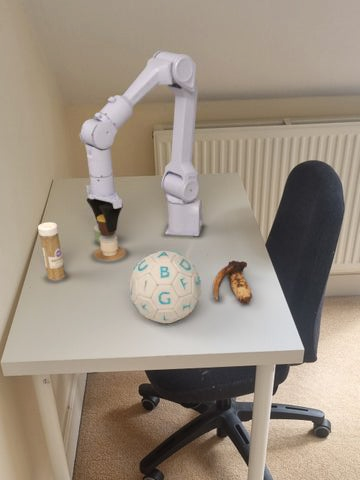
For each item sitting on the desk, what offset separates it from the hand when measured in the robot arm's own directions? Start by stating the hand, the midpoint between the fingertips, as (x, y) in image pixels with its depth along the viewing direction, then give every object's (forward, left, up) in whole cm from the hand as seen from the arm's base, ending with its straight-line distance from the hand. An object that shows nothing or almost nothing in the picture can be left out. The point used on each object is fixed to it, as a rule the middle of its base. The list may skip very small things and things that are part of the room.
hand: (107, 228), depth 151 cm
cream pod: (0, 0, -7) cm, 7 cm away
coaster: (0, 0, -7) cm, 7 cm away
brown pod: (0, 0, -1) cm, 1 cm away
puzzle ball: (-21, +30, -8) cm, 37 cm away
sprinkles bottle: (+10, +14, -8) cm, 19 cm away
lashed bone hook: (-34, +16, -8) cm, 38 cm away
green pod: (+4, -8, -7) cm, 12 cm away
